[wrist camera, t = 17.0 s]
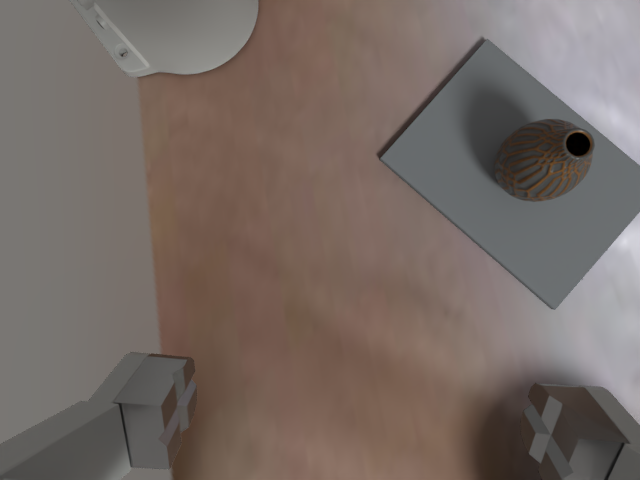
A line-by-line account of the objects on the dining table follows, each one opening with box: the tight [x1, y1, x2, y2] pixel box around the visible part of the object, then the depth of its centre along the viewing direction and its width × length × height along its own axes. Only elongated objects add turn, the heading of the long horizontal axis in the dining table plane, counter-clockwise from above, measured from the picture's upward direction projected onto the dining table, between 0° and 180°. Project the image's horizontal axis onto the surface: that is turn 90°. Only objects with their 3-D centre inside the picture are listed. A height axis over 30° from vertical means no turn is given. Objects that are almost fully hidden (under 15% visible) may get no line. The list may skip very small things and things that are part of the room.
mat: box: [380, 39, 640, 310], centre depth 37 cm, size 22×16×1 cm
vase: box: [494, 119, 595, 202], centre depth 33 cm, size 7×7×9 cm
